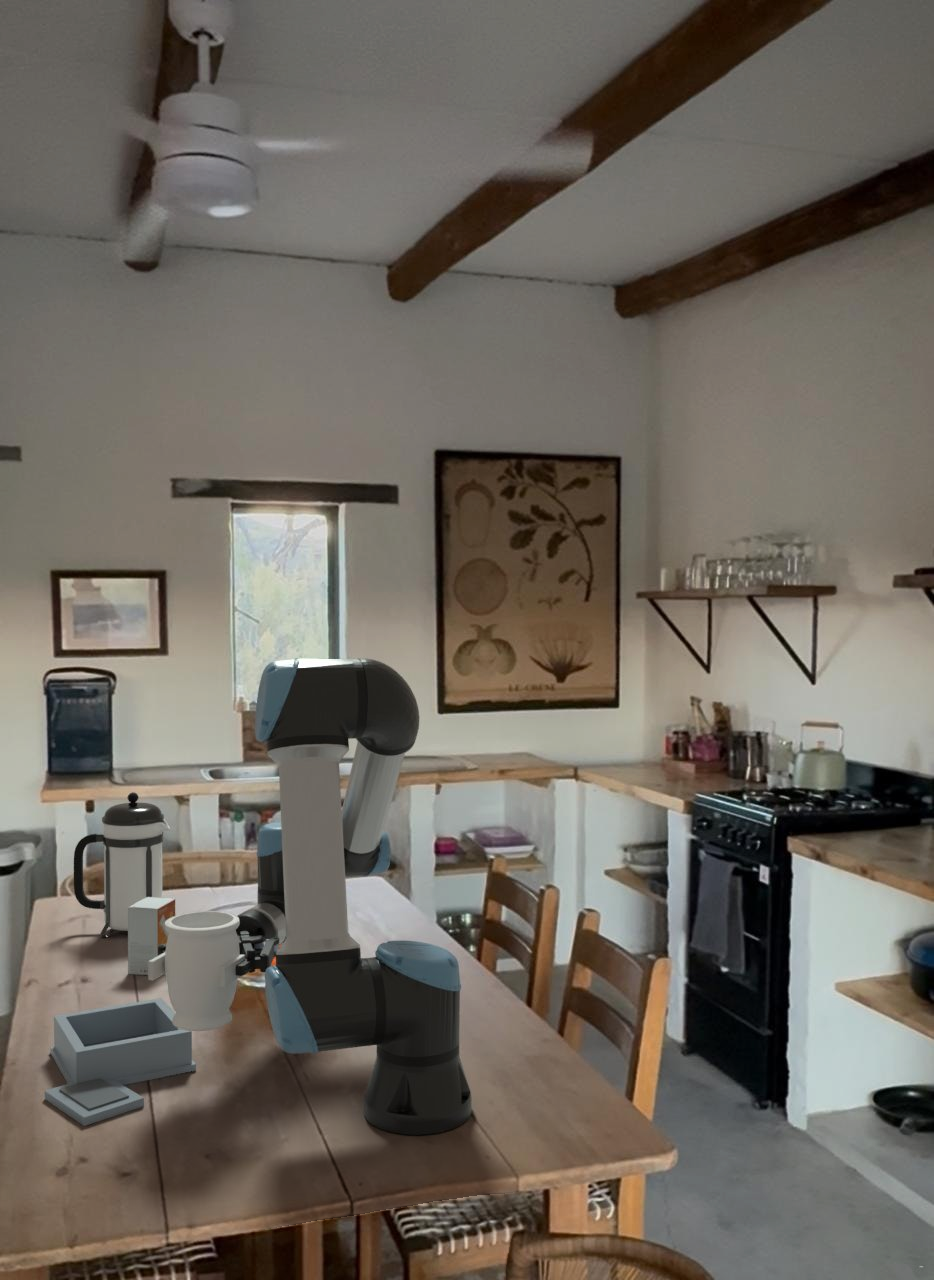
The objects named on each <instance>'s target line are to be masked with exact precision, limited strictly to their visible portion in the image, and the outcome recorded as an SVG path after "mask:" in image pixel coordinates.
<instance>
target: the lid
mask: <svg viewBox="0 0 934 1280" xmlns="http://www.w3.org/2000/svg"><path fill="white" fill-rule="evenodd" d="M44 1100H45V1101H47V1102H48V1103H50V1104H51V1105H53V1106H54V1107H56V1108H57V1109H58V1110H60V1111H62V1112H63V1113H64V1114H66V1115H68V1117H70V1118H72V1119H73V1120H75V1121H76V1122H77V1123H79V1124H80V1125H82V1126H83V1127H86V1126H88V1125H91V1124H95V1123H97V1122H101V1121H104V1120H107V1119H109V1118H113V1117H116V1116H119V1115H122V1114H125V1113H128V1112H130V1111H134V1110H136V1109H140V1108H142V1107H145V1098H144V1096H141V1094H138V1093H137V1092H135V1091H133V1090H132V1089H130V1088H128V1087H127V1086H126V1085H122V1084H120V1083H118V1082H117V1081H115V1080H113V1079H112V1078H110V1079H105V1080H103V1079H101V1078H99V1079H94V1080H89V1081H84V1082H80V1083H77V1084H76V1083H75V1082H72V1083H69V1084H67V1083H66V1084H62V1085H60V1086H57V1087H53V1088H50V1089H46V1090H44Z"/></svg>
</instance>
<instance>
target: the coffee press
mask: <svg viewBox="0 0 934 1280" xmlns="http://www.w3.org/2000/svg"><path fill="white" fill-rule="evenodd" d="M127 801H128V802H124V803H119V804H115V805H113V806H110V807H109V808H108V809H106V811H105V813H104V816H102V817H101V822H102V824H103V834H98V833H90V834H87V835H86V836H84V837H82V838H80V839H79V841H78V843H77V844H76V846H75V850H74V853H73V854H74V855H73V890H74V896H75V898H76V900H77V901H78V903H79V904H80V905H81V906H82V907H84V908H88V909H93V910H103V912H104V923H105V924H104V926H103V928H102V930H101V932H100V935H101V937H102V936H103V938H105V935H107V936H110V937H111V935H113V933H114V932H116V931H122V932H123V931H124V932H125V931H126V932H128V907H130V906H131V905H133V904H135V903H136V902H138V901H141V900H142V899H144V898H146V897H156V898H163V842H164V832H163V831H166V830H167V831H169V830H170V829H171V827H170V825H169V824H168V822H167V821H166V819H165V818H164V817H165V815H164V814H163V813H162V811H161V809H160V807H159V806H157V805H156V804H152V803H149V802H148V803H147V802H137V801H139V794H138V793H136V792H131V793H129V794H128V796H127ZM93 843H102V844H103V882H104V883H103V885H104V886H103V887H104V888H103V891H104V893H103V894H104V895H103V897H104V898H103V900H95V899H94V900H93V899H90V898H88V897H87V896H86V894H85V891H84V851H85V849H86V847H87V845H89V844H93ZM109 928H110V930H109V931H108V929H109ZM107 931H108V932H107Z"/></svg>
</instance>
